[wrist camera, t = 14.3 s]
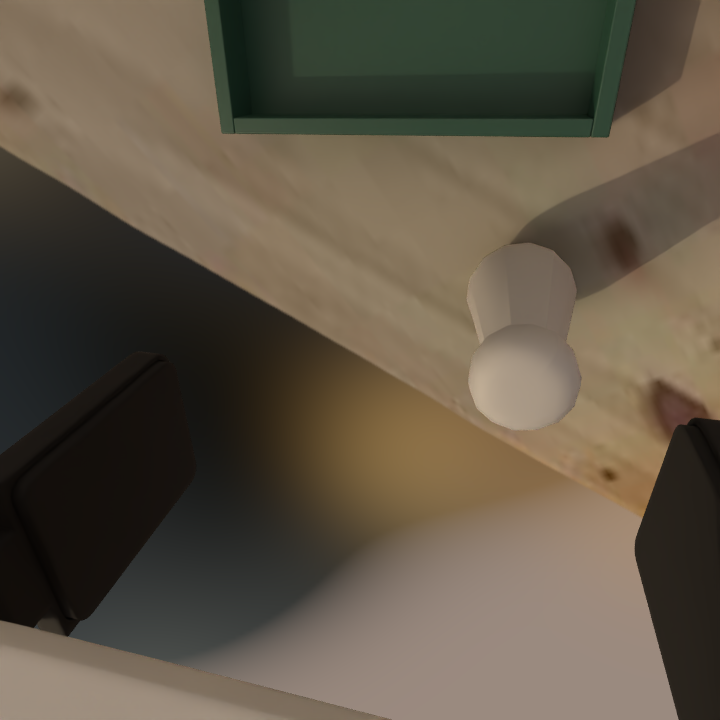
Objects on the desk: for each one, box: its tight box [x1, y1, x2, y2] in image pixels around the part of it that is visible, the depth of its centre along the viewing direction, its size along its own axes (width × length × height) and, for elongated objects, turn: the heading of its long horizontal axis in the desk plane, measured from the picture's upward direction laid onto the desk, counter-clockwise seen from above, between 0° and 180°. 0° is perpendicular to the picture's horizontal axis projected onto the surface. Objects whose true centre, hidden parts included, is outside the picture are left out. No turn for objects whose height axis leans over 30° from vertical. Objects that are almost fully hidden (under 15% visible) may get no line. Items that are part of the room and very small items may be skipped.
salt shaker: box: [467, 242, 582, 430], centre depth 25 cm, size 6×6×13 cm
